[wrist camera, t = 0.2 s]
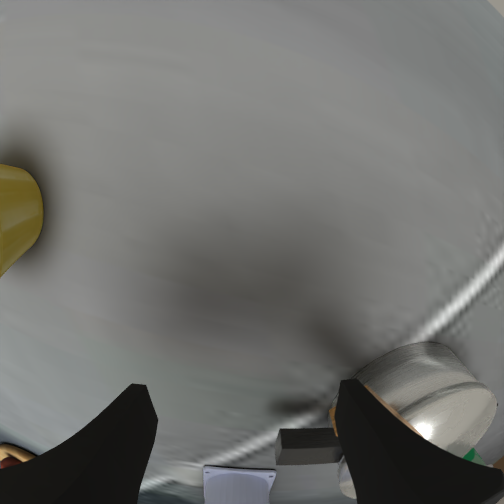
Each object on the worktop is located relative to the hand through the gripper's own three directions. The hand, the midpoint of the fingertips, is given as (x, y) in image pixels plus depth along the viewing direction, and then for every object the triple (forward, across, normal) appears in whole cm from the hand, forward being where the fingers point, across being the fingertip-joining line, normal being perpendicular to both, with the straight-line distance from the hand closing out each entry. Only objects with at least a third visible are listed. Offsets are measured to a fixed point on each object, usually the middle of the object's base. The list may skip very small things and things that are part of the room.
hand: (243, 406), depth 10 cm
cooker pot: (+10, -14, +13) cm, 21 cm away
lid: (+4, -12, +11) cm, 16 cm away
